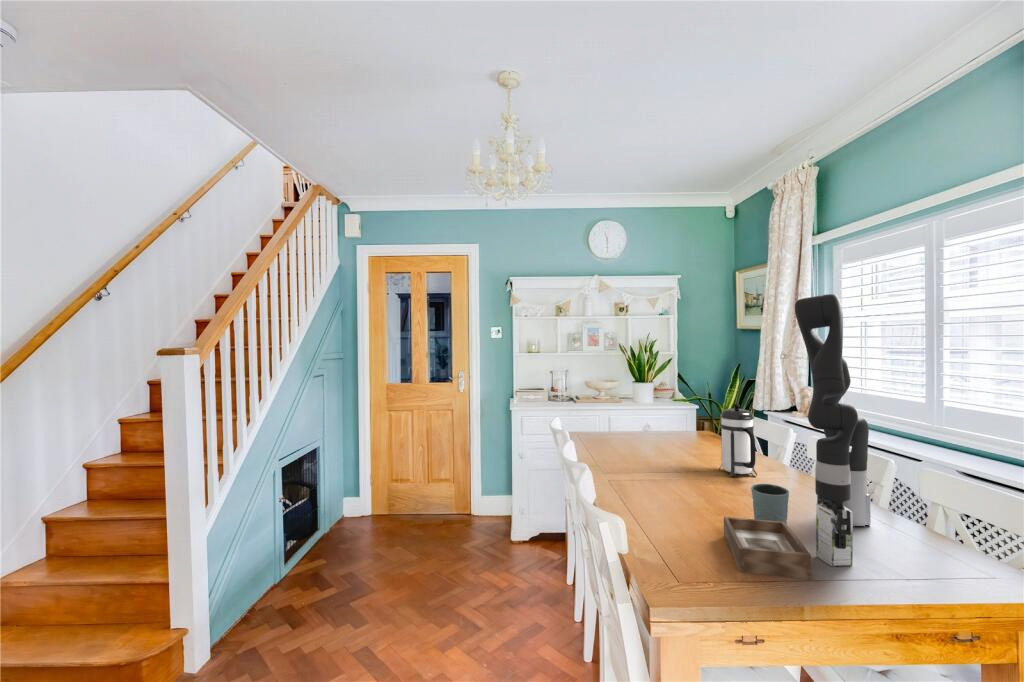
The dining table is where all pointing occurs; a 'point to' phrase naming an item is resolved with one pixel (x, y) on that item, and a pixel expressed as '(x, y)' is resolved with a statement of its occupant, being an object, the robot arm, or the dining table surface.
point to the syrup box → (831, 539)
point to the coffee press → (737, 441)
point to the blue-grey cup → (770, 502)
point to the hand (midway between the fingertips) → (833, 540)
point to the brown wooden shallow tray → (766, 548)
